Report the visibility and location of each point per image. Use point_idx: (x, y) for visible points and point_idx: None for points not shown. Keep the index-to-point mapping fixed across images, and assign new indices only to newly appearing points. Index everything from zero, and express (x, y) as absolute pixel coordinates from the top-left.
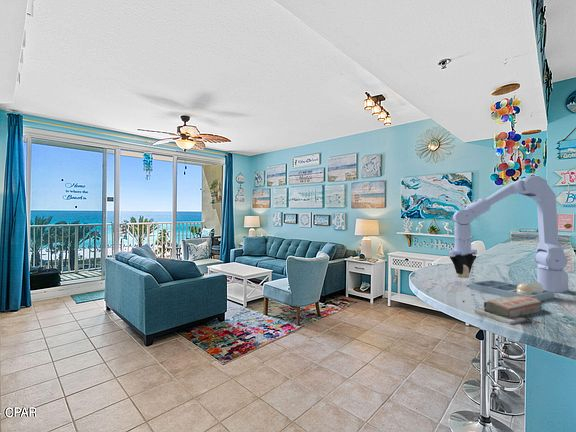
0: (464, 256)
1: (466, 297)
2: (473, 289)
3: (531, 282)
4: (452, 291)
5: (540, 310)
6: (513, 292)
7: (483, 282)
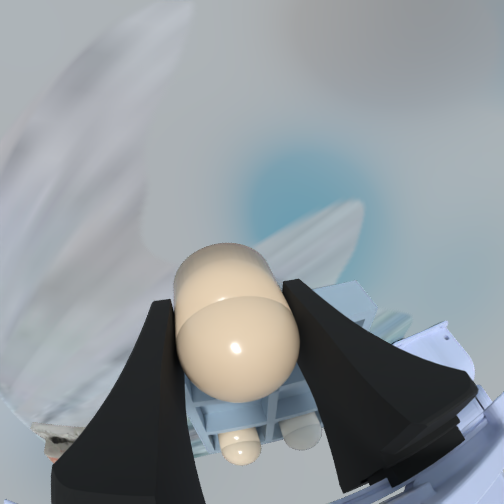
0: (374, 452)
1: (72, 368)
2: None
3: (300, 446)
4: (62, 293)
5: None
6: (204, 440)
7: None
